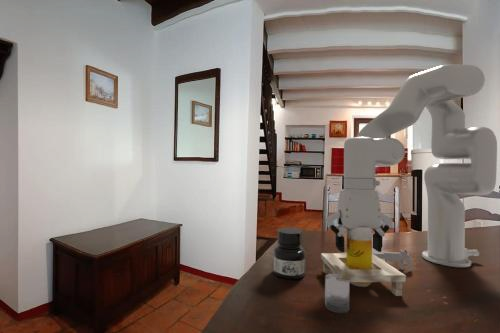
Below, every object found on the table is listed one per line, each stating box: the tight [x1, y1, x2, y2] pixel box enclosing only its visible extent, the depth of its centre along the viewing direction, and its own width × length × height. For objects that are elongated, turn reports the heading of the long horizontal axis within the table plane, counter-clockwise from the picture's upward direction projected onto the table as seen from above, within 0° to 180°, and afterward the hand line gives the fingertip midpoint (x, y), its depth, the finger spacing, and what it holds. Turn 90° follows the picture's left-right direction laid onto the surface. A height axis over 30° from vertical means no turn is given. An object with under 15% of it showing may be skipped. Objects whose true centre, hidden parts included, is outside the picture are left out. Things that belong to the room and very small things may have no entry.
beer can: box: [346, 227, 373, 288], centre depth 65 cm, size 6×6×15 cm
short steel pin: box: [324, 273, 351, 314], centre depth 54 cm, size 5×5×6 cm
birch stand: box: [320, 252, 407, 297], centre depth 65 cm, size 15×15×5 cm
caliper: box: [344, 249, 413, 272], centre depth 80 cm, size 20×1×6 cm, turn 44°
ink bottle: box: [273, 227, 307, 280], centre depth 70 cm, size 10×9×12 cm
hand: (358, 250), depth 65 cm, fingers open, 9 cm apart
